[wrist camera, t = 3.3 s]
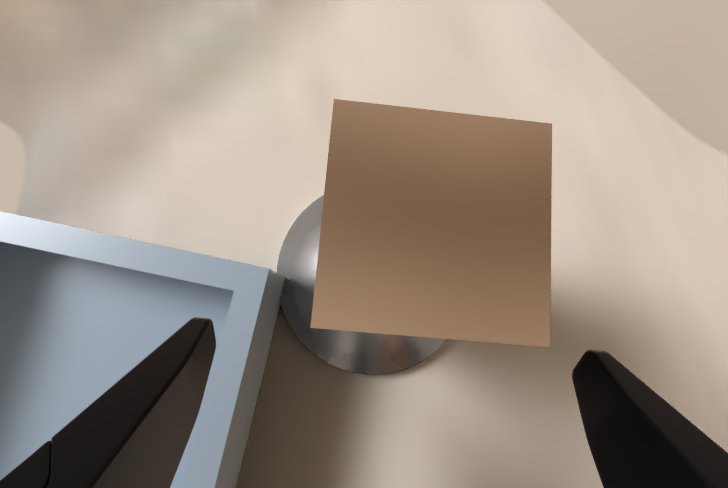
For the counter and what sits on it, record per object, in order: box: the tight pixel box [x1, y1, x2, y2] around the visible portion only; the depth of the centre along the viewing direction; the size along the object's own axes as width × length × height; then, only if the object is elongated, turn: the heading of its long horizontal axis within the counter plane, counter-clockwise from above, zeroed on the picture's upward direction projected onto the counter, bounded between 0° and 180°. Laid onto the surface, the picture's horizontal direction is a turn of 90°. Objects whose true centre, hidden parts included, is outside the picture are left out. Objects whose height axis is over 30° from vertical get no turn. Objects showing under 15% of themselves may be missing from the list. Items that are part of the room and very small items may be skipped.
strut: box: [310, 99, 552, 347], centre depth 13 cm, size 4×4×12 cm
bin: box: [0, 211, 285, 488], centre depth 15 cm, size 14×14×5 cm
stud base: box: [277, 195, 447, 374], centre depth 18 cm, size 9×9×3 cm
